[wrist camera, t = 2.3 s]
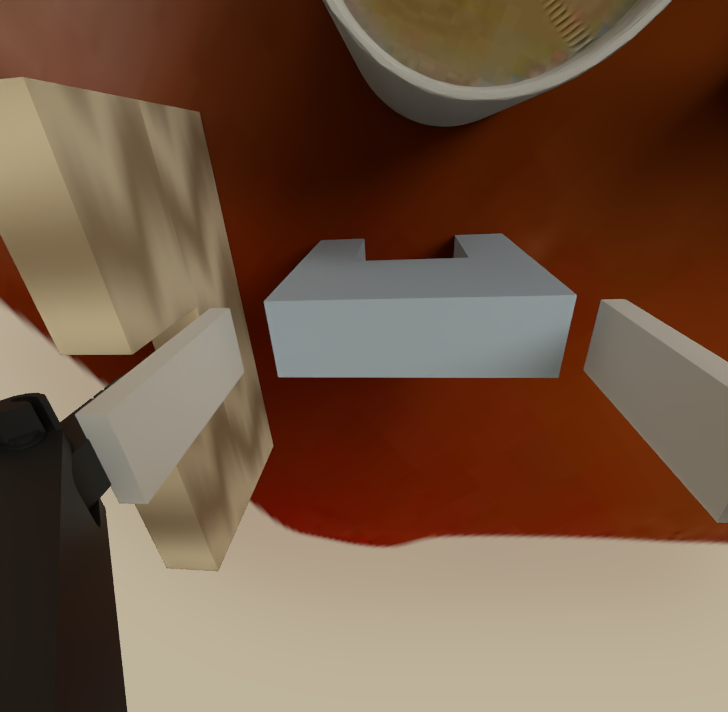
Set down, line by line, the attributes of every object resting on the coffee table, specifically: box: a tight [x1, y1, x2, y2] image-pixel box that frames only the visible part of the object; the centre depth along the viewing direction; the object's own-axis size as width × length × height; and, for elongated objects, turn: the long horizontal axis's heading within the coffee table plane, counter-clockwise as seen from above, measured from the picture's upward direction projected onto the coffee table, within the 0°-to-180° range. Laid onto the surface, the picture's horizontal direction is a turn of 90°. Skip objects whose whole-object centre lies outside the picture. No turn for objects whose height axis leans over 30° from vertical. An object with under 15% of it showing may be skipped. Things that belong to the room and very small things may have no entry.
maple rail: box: [0, 77, 273, 571], centre depth 20 cm, size 22×3×10 cm, turn 3°
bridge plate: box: [264, 233, 577, 378], centre depth 17 cm, size 3×10×10 cm, turn 93°
